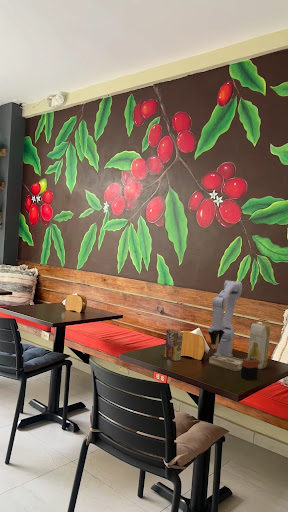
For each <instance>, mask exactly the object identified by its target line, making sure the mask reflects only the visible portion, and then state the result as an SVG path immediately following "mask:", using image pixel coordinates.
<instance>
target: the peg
mask: <svg viewBox="0 0 288 512" xmlns="http://www.w3.org/2000/svg"><path fill="white" fill-rule="evenodd" d="M218 342H219V334H218V336H217V339H216V344H215V345H213V344H211V347H210V348H211V349H212V350H213V349H214V350H217V349H218Z"/></svg>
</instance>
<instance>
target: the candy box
mask: <svg viewBox="0 0 288 512" xmlns="http://www.w3.org/2000/svg"><path fill="white" fill-rule="evenodd" d="M183 337H184V331H180V330H177V329H174V328H167V329H166V336H165V346H164V357H165V358H167V359H170V360H172V361H175V362H177V361H181V357H182V356H181V355H182V347H183V339H184V338H183Z"/></svg>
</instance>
